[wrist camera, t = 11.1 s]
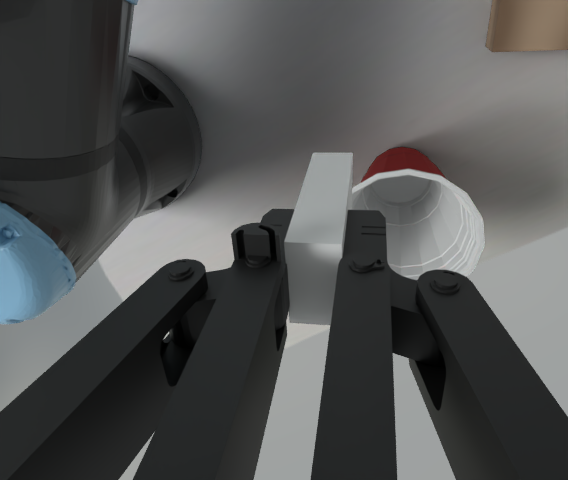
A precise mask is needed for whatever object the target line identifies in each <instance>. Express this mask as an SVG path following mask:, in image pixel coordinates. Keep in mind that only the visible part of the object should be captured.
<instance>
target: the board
mask: <svg viewBox="0 0 568 480" xmlns="http://www.w3.org/2000/svg"><path fill="white" fill-rule="evenodd" d="M486 47H487V48H488V49H489V50H490V51H492V52H510V51H541V50H568V0H493V1H492V7H491V14H490V21H489V27H488V34H487V40H486Z"/></svg>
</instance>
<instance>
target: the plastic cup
mask: <svg viewBox="0 0 568 480" xmlns="http://www.w3.org/2000/svg"><path fill="white" fill-rule="evenodd" d="M352 210H379V211H380V212H381V213H382V214H383V216H384V217H385V218H386V239H387V261H388V264H389V266H390V268H391V269H392V270H393V271H395V272H396V273H398V274H400V275H402V276H404V277H407V278H410V279H414V280H418V278H419V276H420V275H422V274H423V273H425V272H426V271H431V270H435V269H439V270H450V271H454V272H457V273H460V274H462V275H464V276H466V277H467V276H468V275H469V274H470V273H471V272H472V271H473V270H474V269H475V267H476V265H477V262H478V260H479V258H480V256H481V253H482V251H483V249H484V246H485V240H484V226H483V218H482V216H481V214H480V213H479V211H478V210H477V208H476V206H475V205H474V203H473V201H472V200H471V198H470V197H469V195H468V194H467V193H466V192H465V191H463V190H462V189H460V188H459V187H457V186H456V185H454V184H453V183H451V182H450V181H448V180H447V179H446V178H445V176H444V175H443V174H442V173H441V171H440V170H439V169H438V168H437V167H436V165H435V164H434V163H432V162H431V161H430V160H429V159H428V157H427V156H425V155H424V154H422V153H420V152H419V151H417V150H416V149H411V148H406V147H398V148H393V149H389V150H387V151H386V152H384V153H382V154H381V155H379V156H378V157H377V158H376V159H375V160H374V162H373V163H372V164H371V166H370V167H369V169H368V171H367V173H366V174H365V176H364V177H363V179H362V181H361V183H359V184H358V185H356V186H354V187H352Z"/></svg>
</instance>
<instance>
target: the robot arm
mask: <svg viewBox="0 0 568 480" xmlns="http://www.w3.org/2000/svg"><path fill="white" fill-rule="evenodd" d="M137 2H138V0H0V324H12V323H20V322H23V321H24V320H30V319H34V318H36V317H37V316H39V315H41V314H43V313H44V312H45V311H46V310H48V309H49V308H50V307H51V306H52V305H54V304H55V303H56V302H57V301H58V300H59V299H61V298H62V297H63V296H65V295H67V294H68V293H69V292H70V291H71V290H72V289H73V287H74V286H75V283H76V282H77V281H78V280H79V278H80V277H81V276H82V275H83V274H84V273H85V272H86V270H88V268H89V267H90V266H91V265H92V264H93V263H94V262H95V261H96V260H97V259H98V258H99V256H100V255H101V254H102V253H103V252H104V251H105V250H106V249H107V248H108V247H109V245H110V244H111V243H112V242H113V241H114V240H115V239H116V238H117V237H118V235H119V234H120V233H121V232H122V231H123V230H124V229H125V228H126V227H127V226H128V224H129V223H130V222H131V221H132V220H133V219H134V218H137V217H140V216H143V215H146V214H149V213H152V212H155V211H157V210H160V209H162V208H164V207H166V206H168V205H169V204H171V203H172V202H174V201H175V200H176V199H177V198H178V197H179V196H180V195H181V194H182V193H183V192H184V191H185V189H186V188H187V187H188V186H189V185H190V183H191V182H192V180H193V179H194V177H195V175H196V173H197V170H198V167H199V164H200V159H201V148H202V146H201V135H200V130H199V126H198V122H197V120H196V117H195V114H194V112H193V110H192V108H191V106H190V104H189V103H188V101H187V99H186V98H185V96H184V95H183V93H182V92H181V91H180V90H179V88H178V87H177V86H176V85H175V84H174V83H173V82H172V81H171V80H170V79H169V78H168V77H167V76H166V75H164V74H163V73H162V72H161V71H159V70H158V69H156V68H155V67H153V66H151V65H150V64H148V63H146V62H144V61H142V60H139V59H137V58H134V57H131V56H128V53H129V44H130V36H131V28H132V20H133V11H134V5H137ZM352 174H353V153H313V154H312V157H311V160H310V163H309V167H308V170H307V173H306V176H305V179H304V182H303V185H302V188H301V191H300V194H299V198H298V201H297V204H296V207H295V209H272V210H270V211H269V212H268V213H266V214H265V215H264V216H263V218H262V220H261V222H260V223H250V224H246V225H243V226H241V227H239V228H237V229H235V230H234V231H233V232H232V233H231V237H232V244H233V251H234V259H235V260H234V262H233V264H232V266H231V267H230V268H228V269H223V270H219V271H212V272H206V270H205V266H204V265H203V264H202V263H201V262H199V261H196V260H190V259H182V260H176V261H174V262H171V263H168V264H166V265H165V266H163V267H162V268H160V269H159V270H158V271H157V272H156V273H155V274H154V275H153V276H152V277H150V278H149V279H148V280H147V281H146V282H145V283H144V284H143V285H141V286H140V287H139V288H138V289H137V290H136V291H135V292H134V293H133V294H131V295H130V296H129V297H128V298H127V299H126V300H125V301H124V302H123V303H122V304H120V305H119V306H118V307H117V308H116V309H115V310H114V311H112V312H111V313H110V314H109V315H108V316H107V317H106V318H105V319H104V320H102V321H101V322H100V323H99V324H98V325H97V326H96V327H95V328H94V329H92V330H91V331H90V332H89V333H88V334H87V335H86V336H85V337H84V338H82V339H81V340H80V341H79V342H78V343H77V344H76V345H75V346H73V347H72V348H71V349H70V350H69V351H68V352H67V353H66V354H65V355H63V356H62V357H61V358H60V359H59V360H58V361H57V362H56V363H54V364H53V365H52V366H51V367H50V368H49V369H48V370H47V371H46V372H44V373H43V374H42V375H41V376H40V377H39V378H38V379H37V380H35V381H34V382H33V383H32V384H31V385H30V386H29V387H28V388H27V389H25V390H24V391H23V392H22V393H21V394H20V395H19V396H18V397H17V398H15V399H14V400H13V401H12V402H11V403H10V404H9V405H8V406H6V407H5V408H4V409H3V410H2V411H1V412H0V480H118V479H119V478H120V477H121V475H122V474H123V473H124V472H125V470H126V469H127V467H128V466H129V465H130V464H131V462H132V461H133V460H134V458H135V457H136V456H137V454H138V453H139V452H140V450H141V449H142V448H143V446H144V445H145V444H146V442H147V441H148V439H149V438H150V437H151V436H152V434H153V433H154V432H155V433H154V435H153V437H152V439H151V441H150V444H149V446H148V448H147V450H146V452H145V455H144V457H143V459H142V461H141V463H140V465H139V467H138V469H137V472H136V474H135V476H134V478H133V480H253V479H254V475H255V470H256V466H257V462H258V458H259V453H260V449H261V445H262V440H263V436H264V431H265V427H266V423H267V419H268V414H269V410H270V406H271V401H272V397H273V393H274V389H275V384H276V380H277V376H278V371H279V367H280V363H281V358H282V354H283V350H284V346H285V341H286V337H287V326H286V319H287V315H288V311H289V321H290V322H291V323H306V324H320V325H330V333H329V341H328V349H327V356H326V365H325V373H324V380H323V388H322V396H321V403H320V411H319V419H318V427H317V434H316V442H315V450H314V458H313V465H312V474H311V480H397V464H396V438H395V437H396V435H395V410H394V409H395V408H394V384H393V383H394V381H393V356H392V353H395V354H398V355H401V356H404V357H407V358H409V364H410V368H411V370H412V372H413V375H414V377H415V380H416V382H417V385H418V387H419V390H420V392H421V394H422V397H423V399H424V402H425V404H426V407H427V409H428V412H429V414H430V417H431V419H432V421H433V424H434V427H435V429H436V431H437V434H438V436H439V439H440V441H441V444H442V446H443V449H444V451H445V453H446V456H447V458H448V461H449V463H450V466H451V468H452V471H453V473H454V476H455V478H456V480H568V417H567V415H566V414H565V413H564V411H563V410H562V408H561V407H560V406H559V404H558V403H557V401H556V400H555V398H554V397H553V396H552V394H551V393H550V392H549V390H548V389H547V387H546V386H545V384H544V383H543V382H542V380H541V379H540V377H539V376H538V374H537V373H536V372H535V370H534V369H533V367H532V366H531V365H530V363H529V362H528V361H527V359H526V358H525V356H524V355H523V353H522V352H521V351H520V349H519V348H518V347H517V345H516V344H515V342H514V341H513V340H512V338H511V337H510V335H509V334H508V332H507V331H506V329H505V328H504V327H503V325H502V324H501V323H500V321H499V320H498V318H497V317H496V315H495V314H494V313H493V311H492V310H491V308H490V307H489V306H488V304H487V303H486V301H485V300H484V299H483V297H482V296H481V294H480V293H479V291H478V290H477V289H476V287H475V286H474V284H473V283H472V282H471V281H470V280H469V279H468V278H467V277H466V276H464V275H462V274H460V273H457V272H454V271H450V270H439V269H435V270H431V271H426V272H425V273H423V274H422V275H420V276H419V278H418V280H414V279H410V278H407V277H404V276H402V275H400V274H398V273H396V272H395V271H393V270H392V269H391V268H390V266H389V264H388V261H387V239H386V218H385V217H384V216H383V214H382V213H381V212H380V211H379V210H352ZM168 332H169V335H168V336H167V337H166V338H165V339H164V337H165V335H166V334H167V333H168ZM163 339H164V340H163ZM155 430H156V431H155Z"/></svg>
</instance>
